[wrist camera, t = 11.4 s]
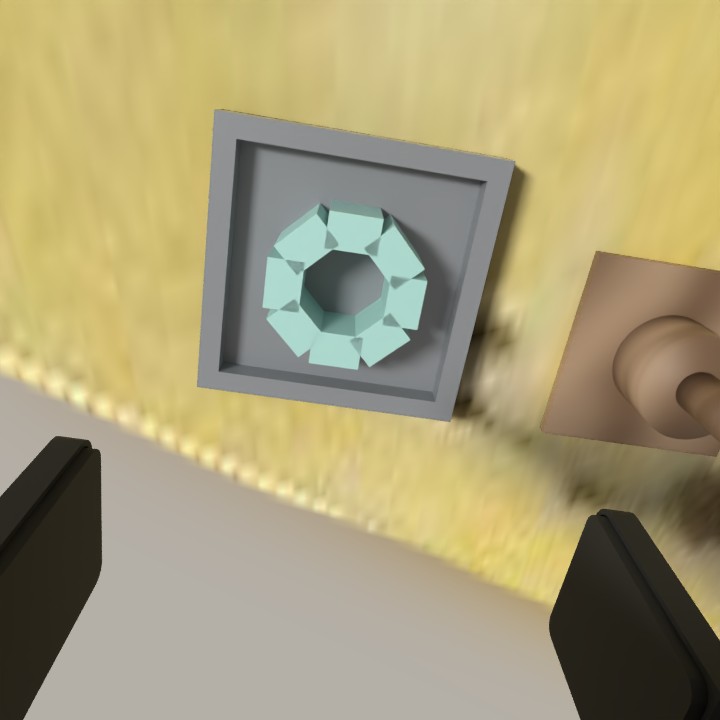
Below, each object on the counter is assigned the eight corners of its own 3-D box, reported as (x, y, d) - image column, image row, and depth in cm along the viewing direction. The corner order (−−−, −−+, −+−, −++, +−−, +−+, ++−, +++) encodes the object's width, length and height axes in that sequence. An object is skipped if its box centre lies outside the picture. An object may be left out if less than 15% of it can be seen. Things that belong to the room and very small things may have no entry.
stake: (786, 281, 30) (926, 339, 23) (710, 451, 34) (808, 546, 27) (596, 250, 30) (677, 299, 22) (540, 427, 33) (593, 518, 26)
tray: (505, 158, 28) (515, 161, 26) (445, 405, 33) (450, 421, 31) (222, 109, 27) (214, 109, 25) (205, 372, 32) (196, 386, 30)
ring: (429, 215, 28) (438, 227, 25) (402, 352, 31) (407, 376, 28) (281, 191, 28) (272, 201, 25) (266, 333, 30) (257, 355, 28)
